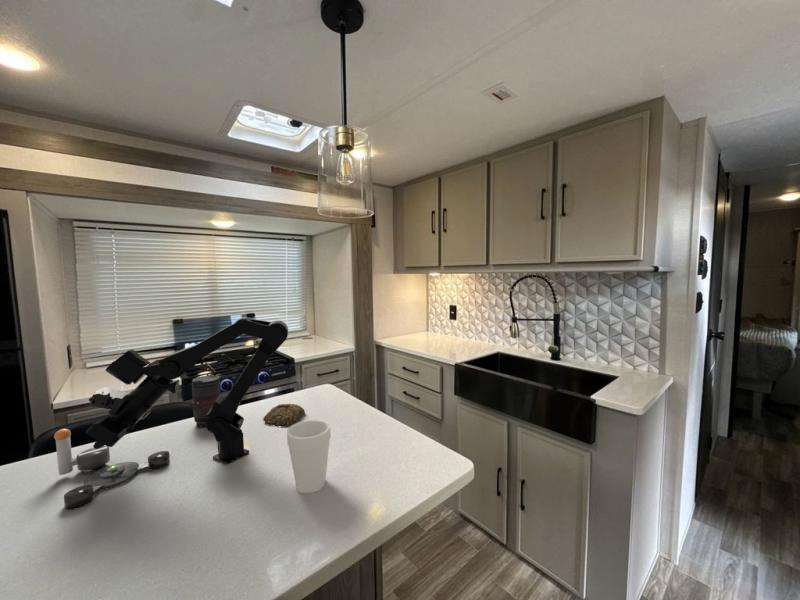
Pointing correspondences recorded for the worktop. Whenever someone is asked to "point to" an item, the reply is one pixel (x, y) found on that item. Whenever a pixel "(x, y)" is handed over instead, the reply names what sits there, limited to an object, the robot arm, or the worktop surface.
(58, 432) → the footscrew lever
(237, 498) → the worktop surface
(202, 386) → the camera lens
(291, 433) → the foam cup
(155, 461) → the tribrach
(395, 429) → the worktop surface
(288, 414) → the brown rock
